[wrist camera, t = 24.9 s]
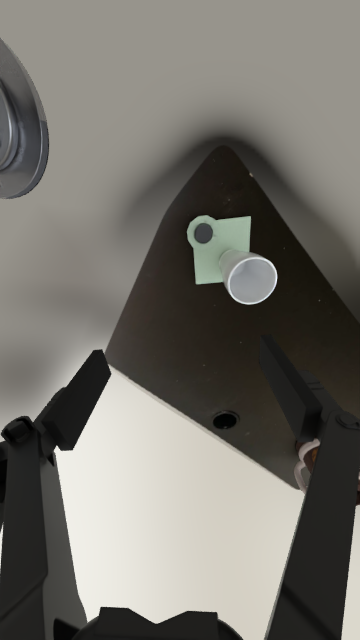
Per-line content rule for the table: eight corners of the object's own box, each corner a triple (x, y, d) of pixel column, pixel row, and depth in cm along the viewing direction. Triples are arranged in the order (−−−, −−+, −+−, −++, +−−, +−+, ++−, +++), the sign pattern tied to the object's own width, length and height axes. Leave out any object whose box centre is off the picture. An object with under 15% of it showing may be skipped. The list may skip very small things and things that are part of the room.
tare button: (194, 225, 36) (194, 225, 35) (210, 223, 36) (211, 223, 34) (195, 242, 37) (195, 243, 36) (211, 241, 37) (212, 241, 36)
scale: (186, 218, 38) (186, 217, 35) (249, 210, 37) (253, 209, 34) (191, 283, 43) (191, 286, 41) (246, 278, 42) (249, 281, 40)
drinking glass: (254, 251, 39) (288, 266, 25) (238, 283, 42) (261, 311, 28) (223, 239, 38) (241, 248, 24) (209, 272, 41) (218, 296, 27)
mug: (324, 421, 61) (362, 477, 47) (351, 441, 65) (393, 498, 51) (273, 448, 68) (293, 503, 55) (300, 465, 72) (325, 521, 59)
